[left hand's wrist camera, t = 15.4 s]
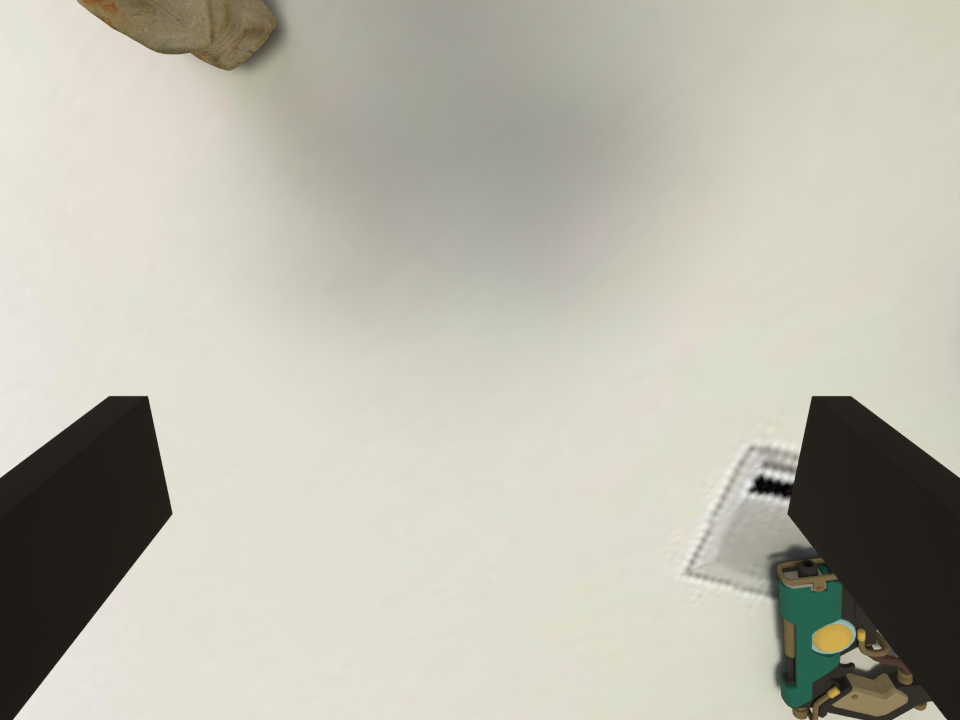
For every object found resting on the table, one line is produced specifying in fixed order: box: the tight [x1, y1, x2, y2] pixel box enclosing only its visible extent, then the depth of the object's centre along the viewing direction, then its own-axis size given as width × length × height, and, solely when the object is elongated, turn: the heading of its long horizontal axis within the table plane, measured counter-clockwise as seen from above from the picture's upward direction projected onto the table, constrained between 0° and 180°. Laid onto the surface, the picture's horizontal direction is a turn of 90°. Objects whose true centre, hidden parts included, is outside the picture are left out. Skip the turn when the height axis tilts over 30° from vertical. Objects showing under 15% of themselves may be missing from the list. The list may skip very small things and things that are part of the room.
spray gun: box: [777, 558, 932, 720], centre depth 48 cm, size 4×17×15 cm
